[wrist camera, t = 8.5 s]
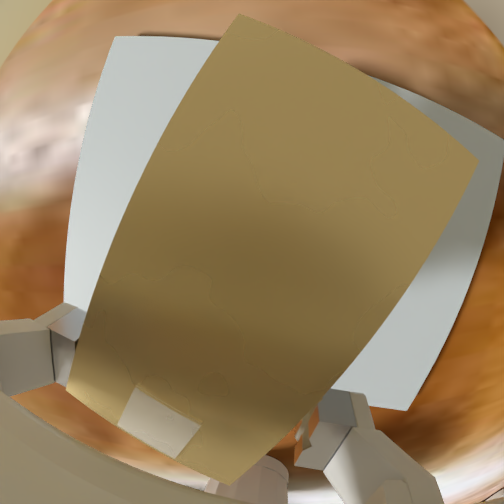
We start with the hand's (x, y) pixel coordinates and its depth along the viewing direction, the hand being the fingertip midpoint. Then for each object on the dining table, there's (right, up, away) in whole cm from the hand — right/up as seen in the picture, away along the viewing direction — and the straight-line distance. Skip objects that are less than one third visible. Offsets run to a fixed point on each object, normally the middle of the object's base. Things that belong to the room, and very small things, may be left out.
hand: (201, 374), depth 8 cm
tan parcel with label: (+2, +3, +1) cm, 4 cm away
